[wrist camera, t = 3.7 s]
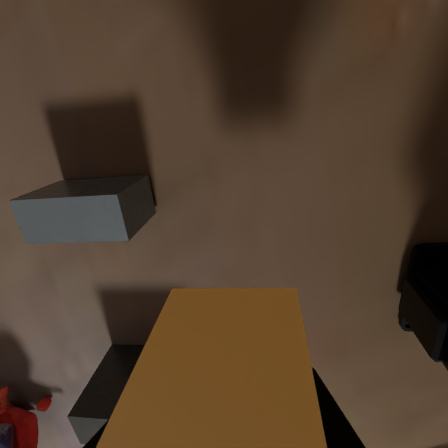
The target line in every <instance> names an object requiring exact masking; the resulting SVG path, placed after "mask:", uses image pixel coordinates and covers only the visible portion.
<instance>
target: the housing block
mask: <svg viewBox="0 0 448 448" xmlns="http://www.w3.org/2000/svg"><path fill="white" fill-rule="evenodd" d="M96 448H327V445H326V440H325V434H324V429H323V424H322V419H321V413H320V408H319V403H318V398H317V392H316V387H315V382H314V377H313V372H312V366H311V361H310V356H309V351H308V345H307V340H306V335H305V330H304V324H303V319H302V314H301V309H300V303H299V298H298V293H297V288H172V290H171V292H170V294H169V296H168V298H167V300H166V302H165V304H164V306H163V308H162V311H161V313H160V315H159V317H158V319H157V321H156V323H155V325H154V327H153V329H152V331H151V334H150V336H149V338H148V340H147V342H146V344H145V346H144V348H143V350H142V352H141V354H140V357H139V359H138V361H137V363H136V365H135V367H134V369H133V371H132V373H131V375H130V377H129V380H128V382H127V384H126V386H125V388H124V390H123V392H122V394H121V396H120V398H119V400H118V403H117V405H116V407H115V409H114V411H113V413H112V415H111V417H110V419H109V421H108V423H107V426H106V428H105V430H104V432H103V434H102V436H101V438H100V440H99V442H98V444H97V446H96Z"/></svg>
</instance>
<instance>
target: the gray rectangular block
mask: <svg viewBox="0 0 448 448" xmlns="http://www.w3.org/2000/svg"><path fill="white" fill-rule="evenodd" d="M9 203H10V205H11V208H12V210H13V213H14V215H15V217H16V220H17V222H18V225H19V227H20V229H21V232H22V234H23V236H24V239H25V241H26V244H41V243H75V242H109V241H129V240H130V239H131V238H132V237H133V236H134V235H135V234H136V233H137V232H138V231H139V230H140V229H141V228H142V227H143V226H144V225H145V224H146V223H147V221H148V220H149V219H150V218H151V217H152V216H153V215H154V214H155V213H156V211H155V206H154V201H153V196H152V191H151V187H150V182H149V177H148V175H137V176H122V177H108V178H93V179H78V180H63V181H58V182H56V183H53V184H50V185H48V186H45V187H43V188H40V189H37V190H35V191H32V192H30V193H27V194H25V195H22V196H19V197H17V198H14V199H12V200H9Z"/></svg>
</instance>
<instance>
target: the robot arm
mask: <svg viewBox="0 0 448 448" xmlns="http://www.w3.org/2000/svg"><path fill="white" fill-rule="evenodd" d="M424 250H426V251H425V253H423V254H420V253H421V252H422V251H424ZM399 311H400V316H399V325H400V326H401V328H402V329H403V330H404V331H413V332H414V334H415V335H416V337H417V338H418V340H419V341H420V343H421V344H422V346H423V347H424V349H425V350H426V352H427V353H428V355H429V356H430V358H432V359H433V360H434V361H435V362H442V363H443V364H444V366H445V367H446V369H447V370H448V243H422V244H418V245H416V246H415V247H414V248H413V250H412V254H411V260H410V265H409V270H408V275H407V276H406V277H405V279H404V282H403V288H402V293H401V298H400V303H399ZM407 323H408V324H407ZM312 372H313V377H314V382H315V387H316V392H317V398H318V403H319V408H320V413H321V419H322V424H323V429H324V434H325V440H326V445H327V448H365V446H364V445H363V443H362V442H361V440H360V438H359V437H358V435H357V434H356V432H355V431H354V429H353V428H352V426H351V425H350V423H349V421H348V420H347V418H346V417H345V415H344V414H343V412H342V411H341V409H340V407H339V406H338V404H337V403H336V401H335V400H334V398H333V397H332V395H331V394H330V392H329V390H328V389H327V387H326V386H325V384H324V383H323V381H322V380H321V378H320V377H319V375H318V373H317V372H316V370H315V369H314V368H312ZM109 419H110V418H109ZM109 419H108V420H107V421H106V422H105V424H104V425H103V426H102V427H101V428H100V429H99V430H98V431H97V432H96V433H95V435H94V436H93V437H92V438H91V439H90V440H89V441H88V442H87V443H86V444H85V446H84V447H83V448H96V446H97V444H98V442H99V440H100V438H101V436H102V434H103V432H104V430H105V428H106V426H107V423H108V421H109Z"/></svg>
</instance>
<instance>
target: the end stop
mask: <svg viewBox="0 0 448 448" xmlns="http://www.w3.org/2000/svg"><path fill="white" fill-rule="evenodd" d="M143 348H144V346H139V345H111V347H110V348H109V350H108V352H107V353H106V355H105V357H104V358H103V360H102V361H101V363H100V365H99V366H98V368H97V369H96V371H95V373H94V374H93V376H92V377H91V379H90V381H89V382H88V384H87V386H86V387H85V389H84V390H83V392H82V394H81V395H80V397H79V398H78V400H77V402H76V403H75V405H74V406H73V408H72V410H71V411H70V413H69V415H68V416H67V417H68V419H69V421H70V423H71V425H72V427H73V429H74V431H75V433H76V435H77V437H78V439H79V441H80V443H81V444H86V443H87V442H88V441H89V440H90V439H91V438H92V437H93V436H94V435H95V433H96V432H97V431H98V430H99V429H100V428H101V427H102V426H103V425H104V424H105V422H106V421H107V420H108V419H109V418H110V417H111V415H112V413H113V411H114V409H115V407H116V405H117V403H118V400H119V398H120V396H121V394H122V392H123V390H124V388H125V386H126V384H127V382H128V380H129V377H130V375H131V373H132V371H133V369H134V367H135V365H136V363H137V361H138V359H139V357H140V354H141V352H142V350H143Z"/></svg>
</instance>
